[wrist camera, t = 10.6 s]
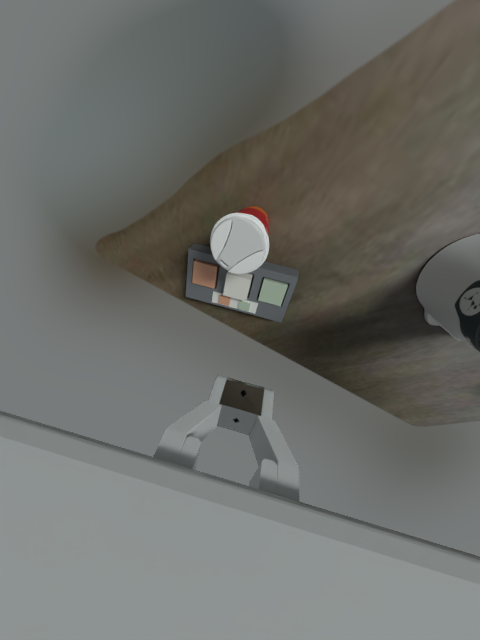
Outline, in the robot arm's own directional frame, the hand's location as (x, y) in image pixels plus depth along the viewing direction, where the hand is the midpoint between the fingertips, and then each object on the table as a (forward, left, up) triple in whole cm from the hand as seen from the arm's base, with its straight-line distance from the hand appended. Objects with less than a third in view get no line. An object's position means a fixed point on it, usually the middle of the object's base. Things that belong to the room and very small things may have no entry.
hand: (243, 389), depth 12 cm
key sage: (-2, +10, -33) cm, 34 cm away
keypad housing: (+4, +11, -34) cm, 36 cm away
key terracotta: (+11, +10, -33) cm, 36 cm away
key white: (+5, +10, -31) cm, 33 cm away
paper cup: (+4, 0, -34) cm, 35 cm away
